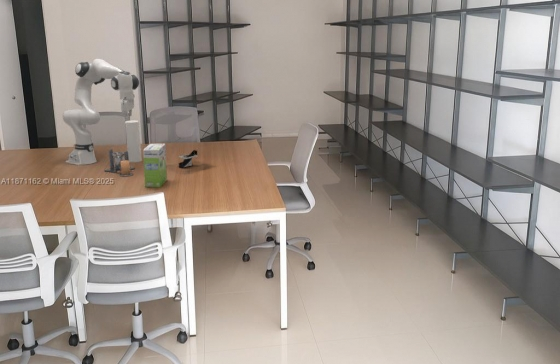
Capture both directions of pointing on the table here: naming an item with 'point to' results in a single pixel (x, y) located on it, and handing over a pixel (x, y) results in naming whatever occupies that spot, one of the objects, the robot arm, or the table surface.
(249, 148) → the table surface
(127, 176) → the grey rounded piece
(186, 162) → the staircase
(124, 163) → the tan rounded piece
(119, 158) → the grey ridged piece
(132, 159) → the cylinder container
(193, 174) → the table surface
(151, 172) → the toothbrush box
